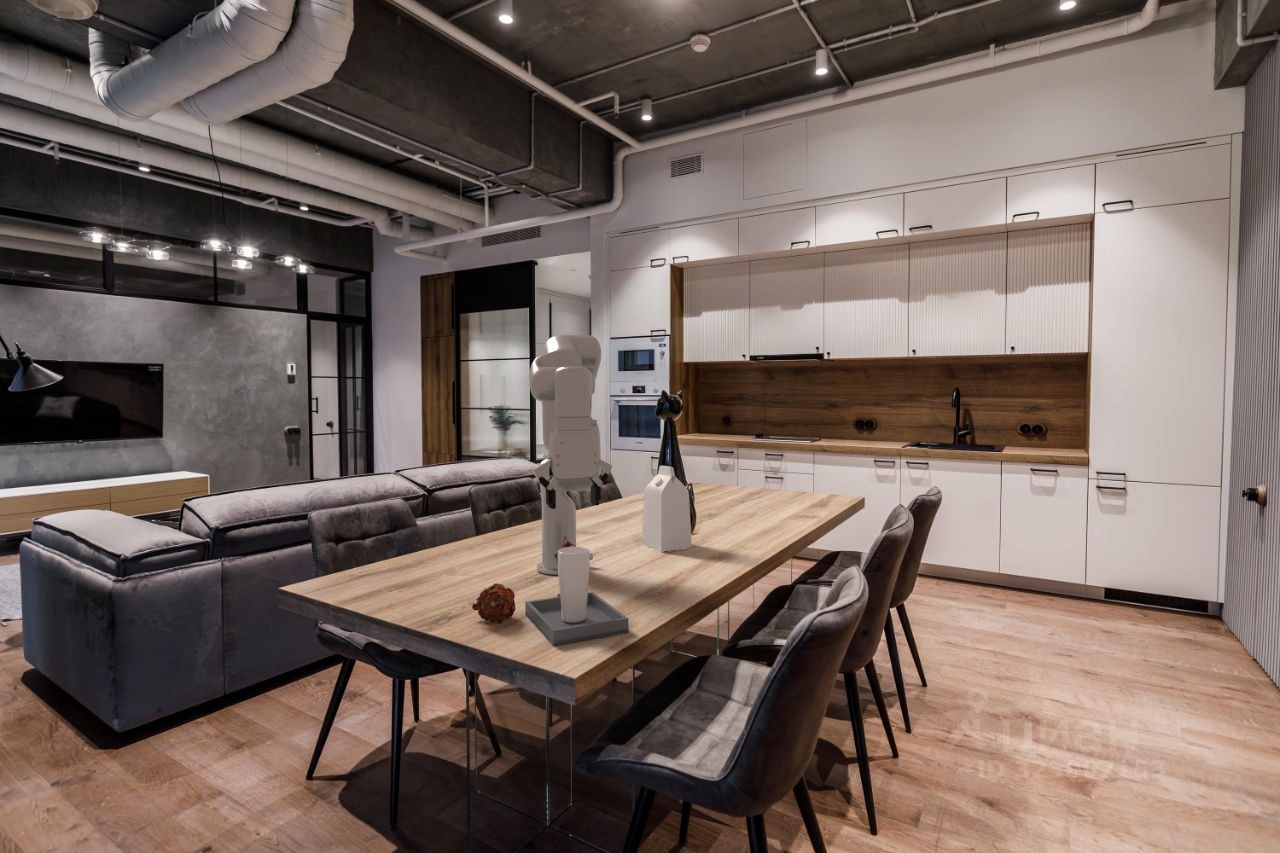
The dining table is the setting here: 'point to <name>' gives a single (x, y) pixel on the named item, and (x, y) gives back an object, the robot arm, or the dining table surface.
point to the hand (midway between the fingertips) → (573, 506)
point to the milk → (666, 513)
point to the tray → (559, 632)
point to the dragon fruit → (495, 603)
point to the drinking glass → (573, 582)
